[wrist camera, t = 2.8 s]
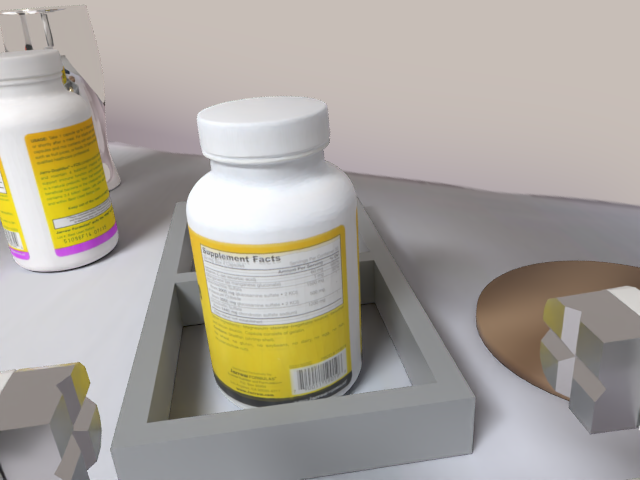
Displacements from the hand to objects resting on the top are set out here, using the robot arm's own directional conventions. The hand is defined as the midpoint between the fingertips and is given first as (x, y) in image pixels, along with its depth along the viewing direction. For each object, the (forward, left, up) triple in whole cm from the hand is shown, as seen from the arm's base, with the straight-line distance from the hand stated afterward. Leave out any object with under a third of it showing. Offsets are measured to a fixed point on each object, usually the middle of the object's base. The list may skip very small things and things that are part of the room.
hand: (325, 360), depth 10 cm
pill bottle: (-10, +7, -10) cm, 16 cm away
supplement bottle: (-31, +6, -10) cm, 33 cm away
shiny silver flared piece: (-44, +13, -10) cm, 47 cm away
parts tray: (-14, +10, -9) cm, 20 cm away
